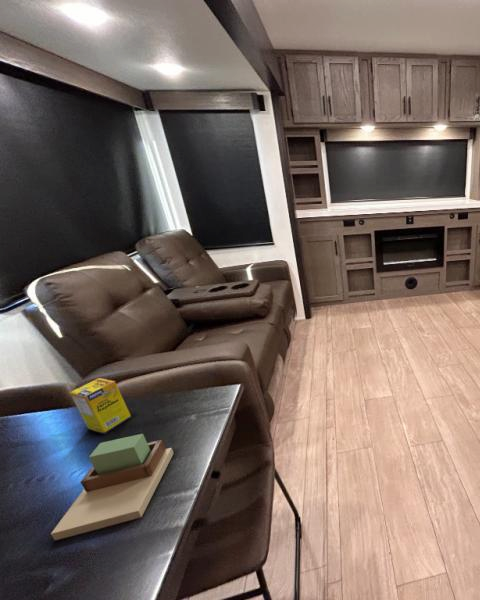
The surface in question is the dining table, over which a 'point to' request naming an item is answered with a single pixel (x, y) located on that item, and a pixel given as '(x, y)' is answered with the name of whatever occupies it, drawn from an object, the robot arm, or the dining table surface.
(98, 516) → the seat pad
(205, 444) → the dining table surface
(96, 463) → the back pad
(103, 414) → the supplement box
